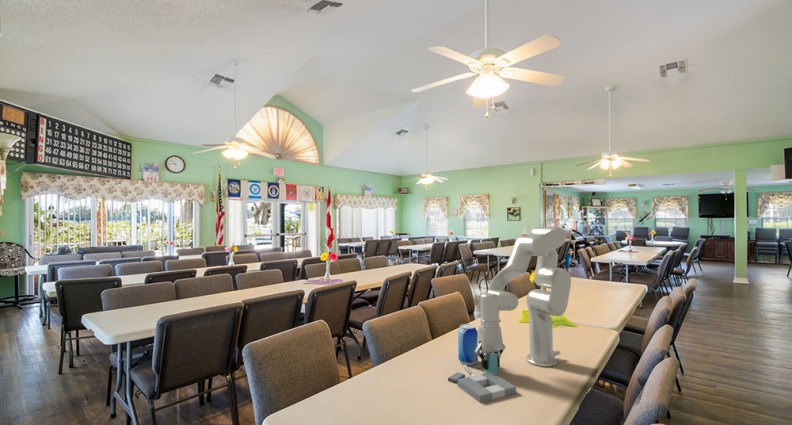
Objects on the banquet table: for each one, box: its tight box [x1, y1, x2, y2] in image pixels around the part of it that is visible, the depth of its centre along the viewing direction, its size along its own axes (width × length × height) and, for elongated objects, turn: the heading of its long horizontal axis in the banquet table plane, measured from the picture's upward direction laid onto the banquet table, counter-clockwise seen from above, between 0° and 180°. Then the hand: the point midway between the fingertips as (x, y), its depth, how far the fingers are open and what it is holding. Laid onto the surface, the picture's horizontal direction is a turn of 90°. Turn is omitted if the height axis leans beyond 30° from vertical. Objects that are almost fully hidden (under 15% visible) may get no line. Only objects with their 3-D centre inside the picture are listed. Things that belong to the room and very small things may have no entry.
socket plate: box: [456, 372, 517, 403], centre depth 131 cm, size 16×14×2 cm
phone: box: [447, 372, 466, 384], centre depth 140 cm, size 7×4×1 cm, turn 139°
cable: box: [462, 364, 476, 376], centre depth 146 cm, size 11×1×1 cm, turn 9°
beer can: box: [457, 323, 479, 366], centre depth 157 cm, size 8×8×16 cm
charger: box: [483, 352, 499, 375], centre depth 146 cm, size 4×4×8 cm
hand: (490, 367), depth 146 cm, fingers open, 5 cm apart
